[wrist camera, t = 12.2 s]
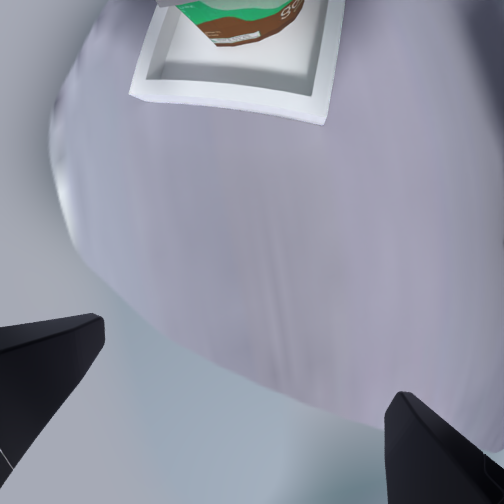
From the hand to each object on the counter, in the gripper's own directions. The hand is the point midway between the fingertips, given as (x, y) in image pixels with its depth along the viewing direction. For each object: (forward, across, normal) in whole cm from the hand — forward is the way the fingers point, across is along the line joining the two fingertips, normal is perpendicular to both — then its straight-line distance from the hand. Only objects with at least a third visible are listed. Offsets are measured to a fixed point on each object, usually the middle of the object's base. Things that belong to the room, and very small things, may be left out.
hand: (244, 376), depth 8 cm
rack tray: (+12, +5, -18) cm, 22 cm away
